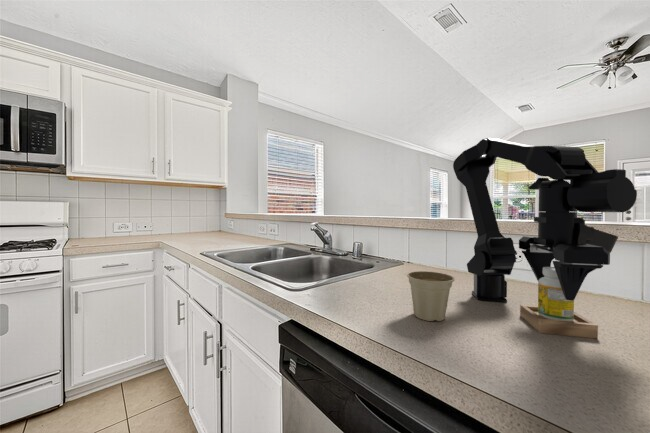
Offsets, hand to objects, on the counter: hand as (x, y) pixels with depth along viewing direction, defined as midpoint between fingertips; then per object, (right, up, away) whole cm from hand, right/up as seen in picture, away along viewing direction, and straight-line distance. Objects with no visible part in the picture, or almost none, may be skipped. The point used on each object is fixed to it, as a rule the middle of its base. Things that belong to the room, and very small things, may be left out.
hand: (555, 292), depth 53 cm
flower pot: (-22, -7, +5) cm, 24 cm away
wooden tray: (0, -7, 0) cm, 6 cm away
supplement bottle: (0, -5, 0) cm, 5 cm away
